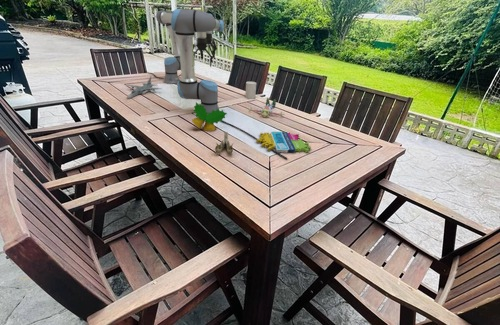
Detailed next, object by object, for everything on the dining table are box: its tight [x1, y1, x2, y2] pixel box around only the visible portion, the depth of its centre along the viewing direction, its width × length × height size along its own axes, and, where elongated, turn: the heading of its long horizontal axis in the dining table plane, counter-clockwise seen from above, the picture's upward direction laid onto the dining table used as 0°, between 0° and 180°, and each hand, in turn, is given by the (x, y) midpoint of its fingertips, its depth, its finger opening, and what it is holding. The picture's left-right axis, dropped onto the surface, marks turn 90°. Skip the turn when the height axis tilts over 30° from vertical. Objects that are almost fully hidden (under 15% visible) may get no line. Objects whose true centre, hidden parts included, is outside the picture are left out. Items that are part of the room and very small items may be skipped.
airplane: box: [126, 75, 162, 99], centre depth 223 cm, size 38×31×10 cm
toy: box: [247, 97, 285, 118], centre depth 199 cm, size 28×7×30 cm
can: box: [245, 81, 257, 100], centre depth 231 cm, size 9×9×13 cm
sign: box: [256, 131, 312, 154], centre depth 152 cm, size 26×2×30 cm
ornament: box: [191, 102, 228, 132], centre depth 162 cm, size 21×8×15 cm, turn 105°
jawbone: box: [214, 131, 234, 156], centre depth 136 cm, size 9×15×10 cm
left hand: (207, 58), depth 246 cm, fingers open, 13 cm apart
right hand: (202, 66), depth 215 cm, fingers open, 13 cm apart
